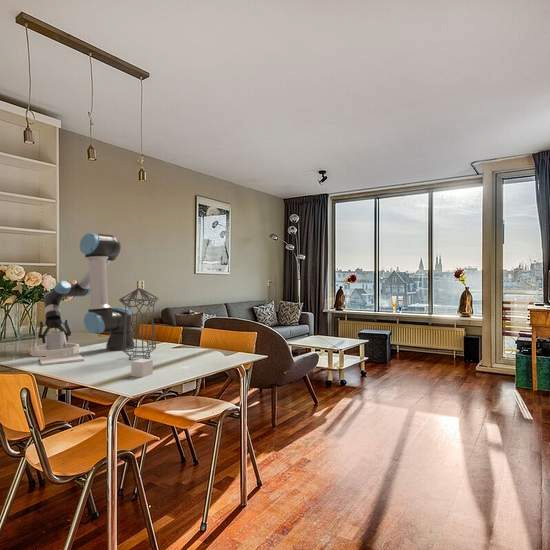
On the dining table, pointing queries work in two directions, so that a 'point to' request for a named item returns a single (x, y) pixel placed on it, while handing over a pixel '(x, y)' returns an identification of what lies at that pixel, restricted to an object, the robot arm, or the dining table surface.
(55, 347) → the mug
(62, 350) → the white plate
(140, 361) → the pale pink cube
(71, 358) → the mat
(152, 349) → the geometric lantern
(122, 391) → the dining table surface
